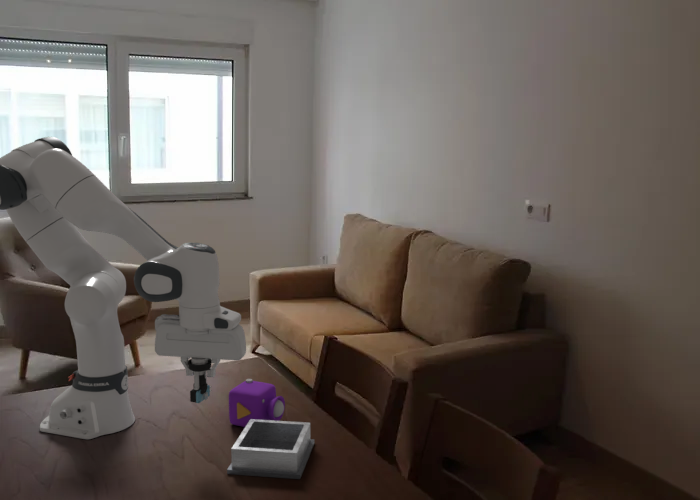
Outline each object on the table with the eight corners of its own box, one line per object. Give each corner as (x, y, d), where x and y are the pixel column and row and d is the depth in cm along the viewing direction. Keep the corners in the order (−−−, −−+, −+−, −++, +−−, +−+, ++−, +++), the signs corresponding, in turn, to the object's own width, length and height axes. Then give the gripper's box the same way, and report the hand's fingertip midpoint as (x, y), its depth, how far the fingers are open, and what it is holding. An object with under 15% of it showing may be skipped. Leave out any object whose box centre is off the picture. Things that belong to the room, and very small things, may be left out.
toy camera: (278, 434, 169) (277, 395, 167) (225, 429, 171) (224, 391, 170) (290, 416, 179) (290, 379, 177) (240, 411, 182) (239, 375, 180)
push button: (200, 390, 161) (199, 349, 159) (220, 394, 159) (219, 353, 157) (183, 401, 155) (182, 359, 153) (204, 405, 153) (203, 362, 151)
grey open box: (227, 474, 149) (226, 450, 148) (248, 439, 166) (248, 417, 165) (300, 479, 147) (299, 455, 146) (314, 443, 164) (314, 421, 163)
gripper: (148, 317, 151) (150, 377, 154) (240, 322, 149) (240, 383, 151) (160, 310, 157) (162, 368, 160) (248, 314, 155) (248, 373, 157)
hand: (200, 375), depth 155 cm, fingers closed on push button, 3 cm apart
